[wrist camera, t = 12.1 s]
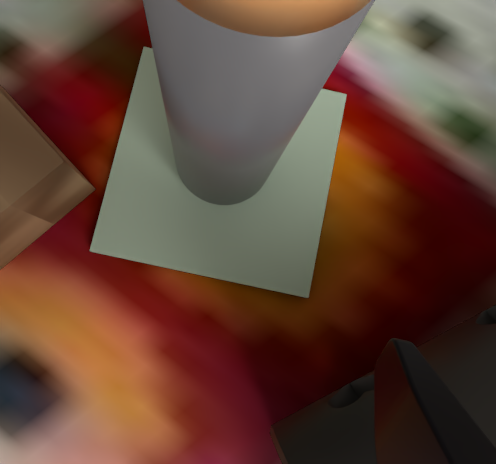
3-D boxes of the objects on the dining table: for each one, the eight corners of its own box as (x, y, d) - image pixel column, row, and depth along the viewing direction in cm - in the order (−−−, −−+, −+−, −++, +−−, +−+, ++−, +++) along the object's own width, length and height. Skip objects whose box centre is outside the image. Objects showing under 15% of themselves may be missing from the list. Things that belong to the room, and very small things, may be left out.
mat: (306, 297, 19) (308, 298, 18) (92, 252, 18) (89, 251, 18) (343, 99, 20) (346, 94, 20) (145, 52, 20) (143, 46, 19)
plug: (237, 223, 18) (346, 29, 5) (156, 169, 18) (19, -195, 5) (289, 147, 19) (521, -227, 5) (210, 94, 19) (237, -427, 5)
